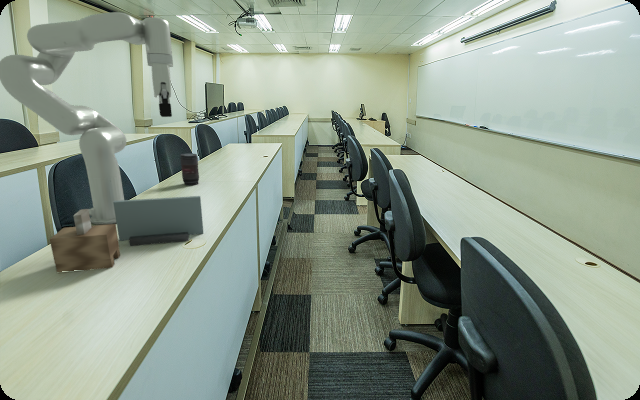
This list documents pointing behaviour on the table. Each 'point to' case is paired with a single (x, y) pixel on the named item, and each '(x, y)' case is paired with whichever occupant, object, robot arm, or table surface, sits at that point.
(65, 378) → the table surface
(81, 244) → the walnut cabinet
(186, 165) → the camera lens
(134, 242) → the rail
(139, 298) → the table surface
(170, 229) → the wall board
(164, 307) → the table surface
